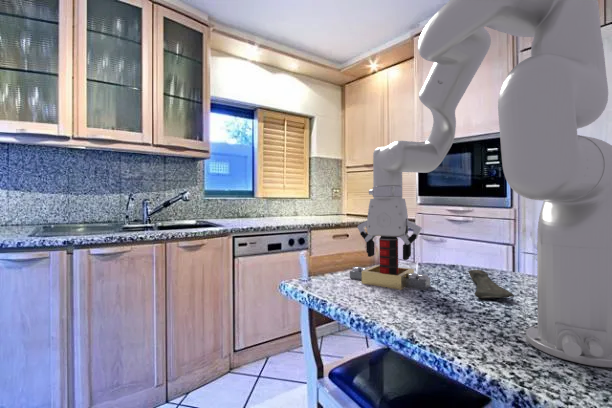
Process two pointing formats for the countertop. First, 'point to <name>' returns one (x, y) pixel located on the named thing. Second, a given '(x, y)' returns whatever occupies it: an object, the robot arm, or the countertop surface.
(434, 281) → the countertop surface
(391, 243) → the grenade
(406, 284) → the chain joint
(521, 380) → the countertop surface
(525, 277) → the countertop surface
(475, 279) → the tool
